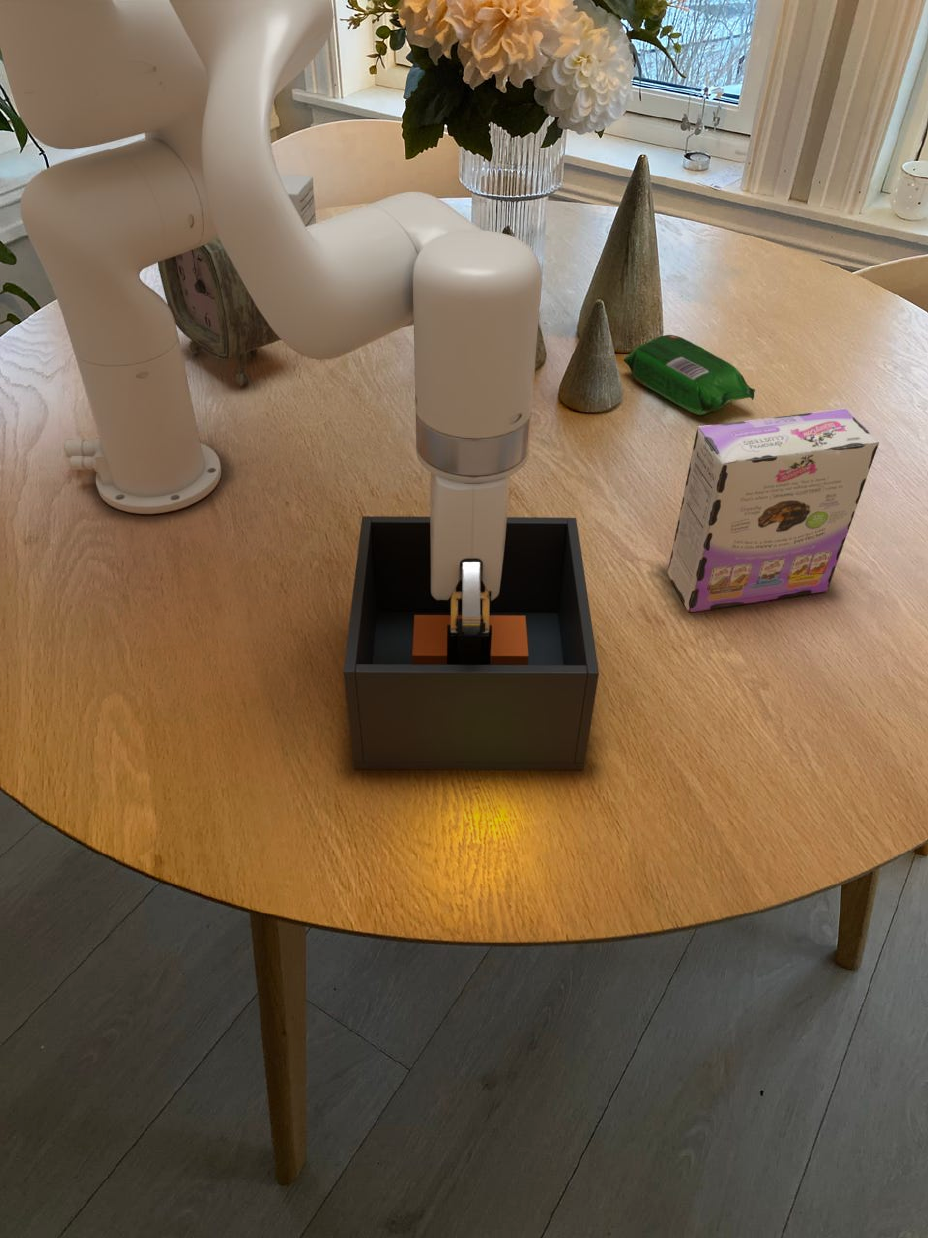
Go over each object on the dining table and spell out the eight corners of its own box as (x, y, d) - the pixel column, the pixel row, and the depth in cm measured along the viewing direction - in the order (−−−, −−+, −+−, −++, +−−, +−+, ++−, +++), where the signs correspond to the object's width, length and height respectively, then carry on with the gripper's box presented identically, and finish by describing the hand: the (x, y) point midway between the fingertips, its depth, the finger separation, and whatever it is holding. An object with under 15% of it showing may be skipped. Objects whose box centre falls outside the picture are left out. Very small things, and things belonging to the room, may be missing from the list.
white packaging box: (256, 281, 135) (243, 189, 127) (272, 260, 141) (261, 170, 132) (307, 286, 134) (297, 193, 126) (321, 264, 140) (313, 174, 131)
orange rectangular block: (413, 698, 77) (412, 655, 74) (415, 657, 81) (414, 614, 77) (525, 699, 77) (528, 656, 74) (522, 658, 81) (525, 615, 77)
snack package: (709, 434, 108) (719, 393, 104) (616, 375, 117) (622, 336, 113) (753, 416, 111) (763, 375, 107) (658, 360, 120) (665, 321, 117)
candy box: (799, 554, 93) (847, 404, 81) (828, 594, 88) (884, 441, 77) (664, 573, 90) (695, 421, 79) (688, 614, 86) (724, 461, 75)
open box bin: (353, 769, 73) (343, 672, 66) (369, 612, 86) (362, 515, 78) (583, 770, 73) (599, 673, 66) (565, 613, 86) (576, 517, 79)
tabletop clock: (176, 352, 120) (131, 138, 103) (238, 330, 125) (204, 122, 107) (239, 397, 112) (202, 175, 95) (302, 372, 117) (278, 155, 100)
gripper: (419, 365, 69) (422, 549, 81) (411, 511, 57) (416, 703, 68) (523, 367, 69) (511, 550, 81) (538, 513, 57) (521, 704, 69)
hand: (467, 620), depth 75 cm, fingers open, 9 cm apart
